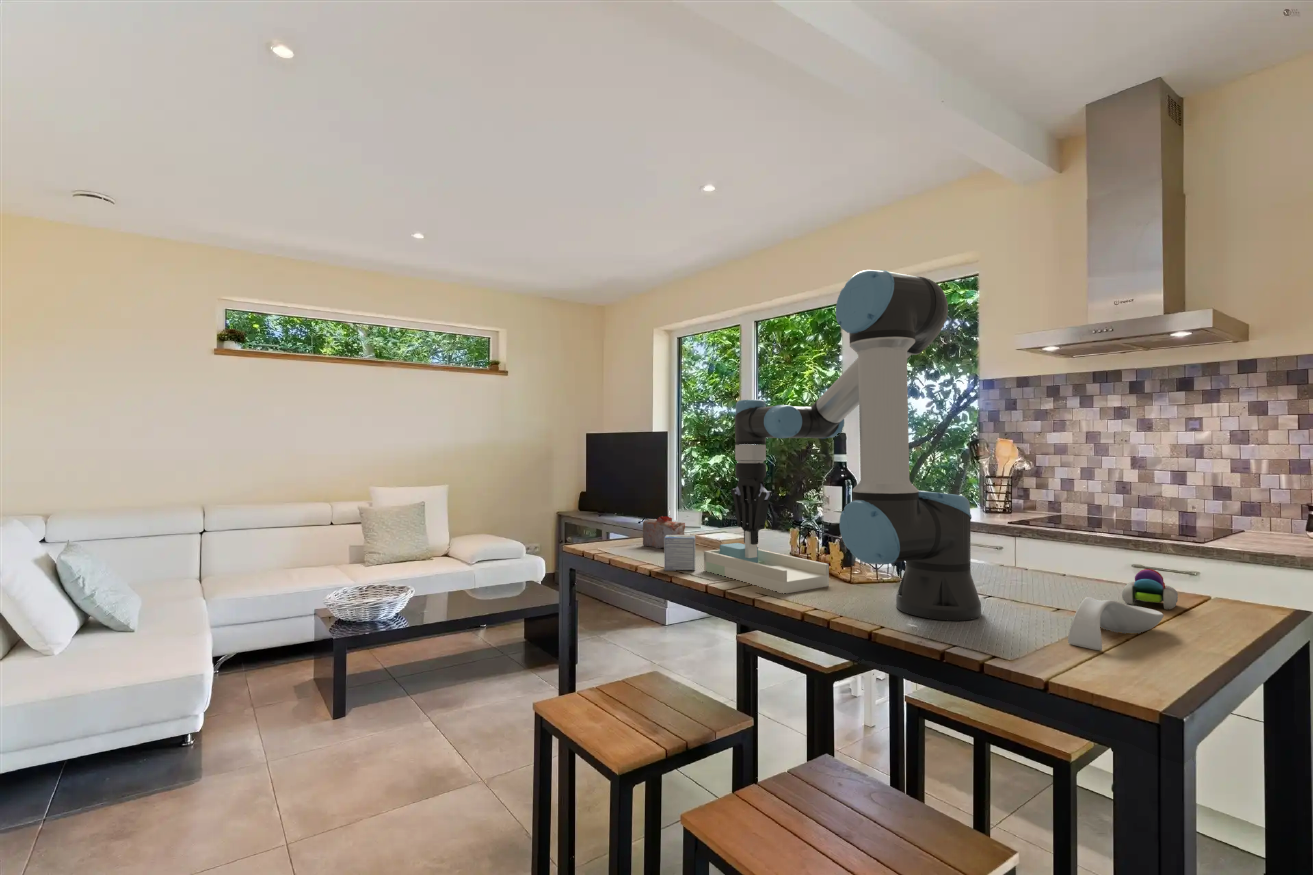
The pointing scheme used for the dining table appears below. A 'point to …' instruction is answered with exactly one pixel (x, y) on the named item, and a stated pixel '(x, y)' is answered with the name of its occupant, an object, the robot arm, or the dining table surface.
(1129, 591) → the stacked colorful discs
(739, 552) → the block
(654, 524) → the gift box with bow
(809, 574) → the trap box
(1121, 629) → the spoon rest
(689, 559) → the grey upright rectangular block
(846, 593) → the dining table surface
